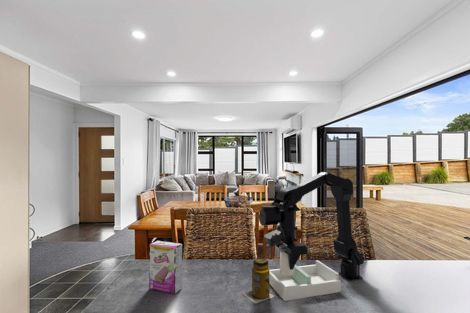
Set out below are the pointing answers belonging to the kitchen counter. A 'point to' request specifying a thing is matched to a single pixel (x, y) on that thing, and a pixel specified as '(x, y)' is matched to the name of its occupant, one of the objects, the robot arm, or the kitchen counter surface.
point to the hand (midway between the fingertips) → (287, 266)
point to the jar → (285, 262)
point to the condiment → (259, 281)
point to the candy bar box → (165, 267)
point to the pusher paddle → (301, 276)
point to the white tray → (321, 284)
